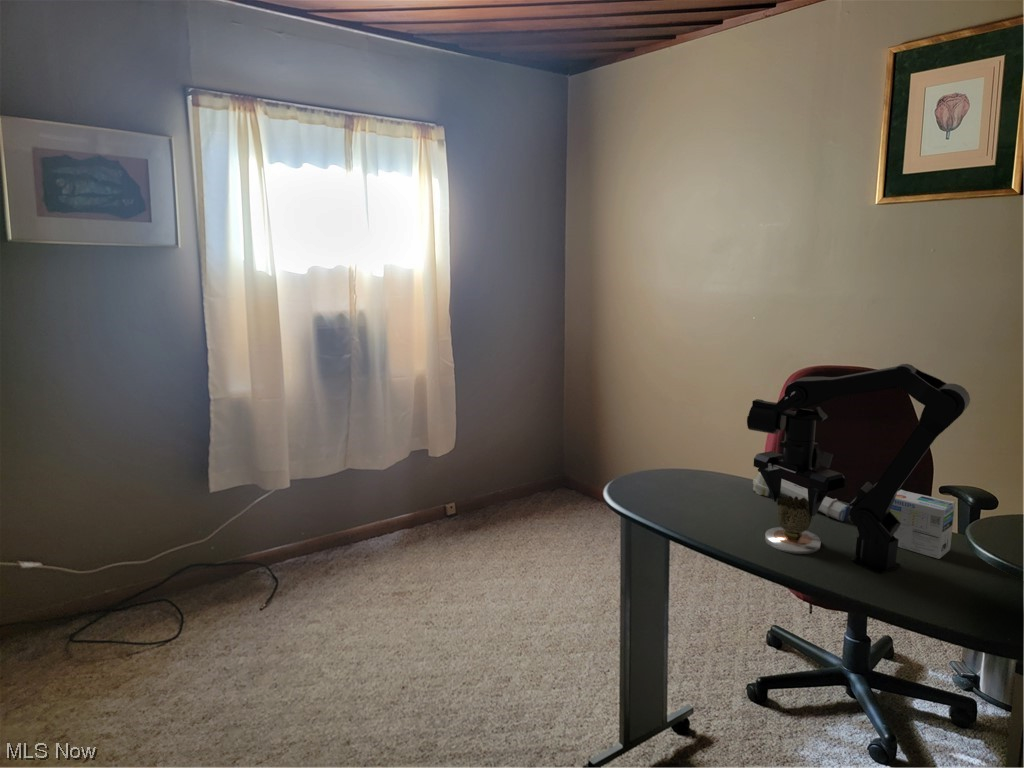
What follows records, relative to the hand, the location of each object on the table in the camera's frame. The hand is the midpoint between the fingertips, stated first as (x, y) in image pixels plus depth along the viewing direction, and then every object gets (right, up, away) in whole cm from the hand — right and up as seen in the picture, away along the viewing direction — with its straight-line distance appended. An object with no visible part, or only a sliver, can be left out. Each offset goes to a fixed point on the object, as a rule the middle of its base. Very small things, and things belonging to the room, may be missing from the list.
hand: (794, 508), depth 141 cm
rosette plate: (0, -8, +1) cm, 8 cm away
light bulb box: (+25, -8, -1) cm, 27 cm away
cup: (0, -6, +1) cm, 7 cm away
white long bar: (+10, -4, +23) cm, 25 cm away
